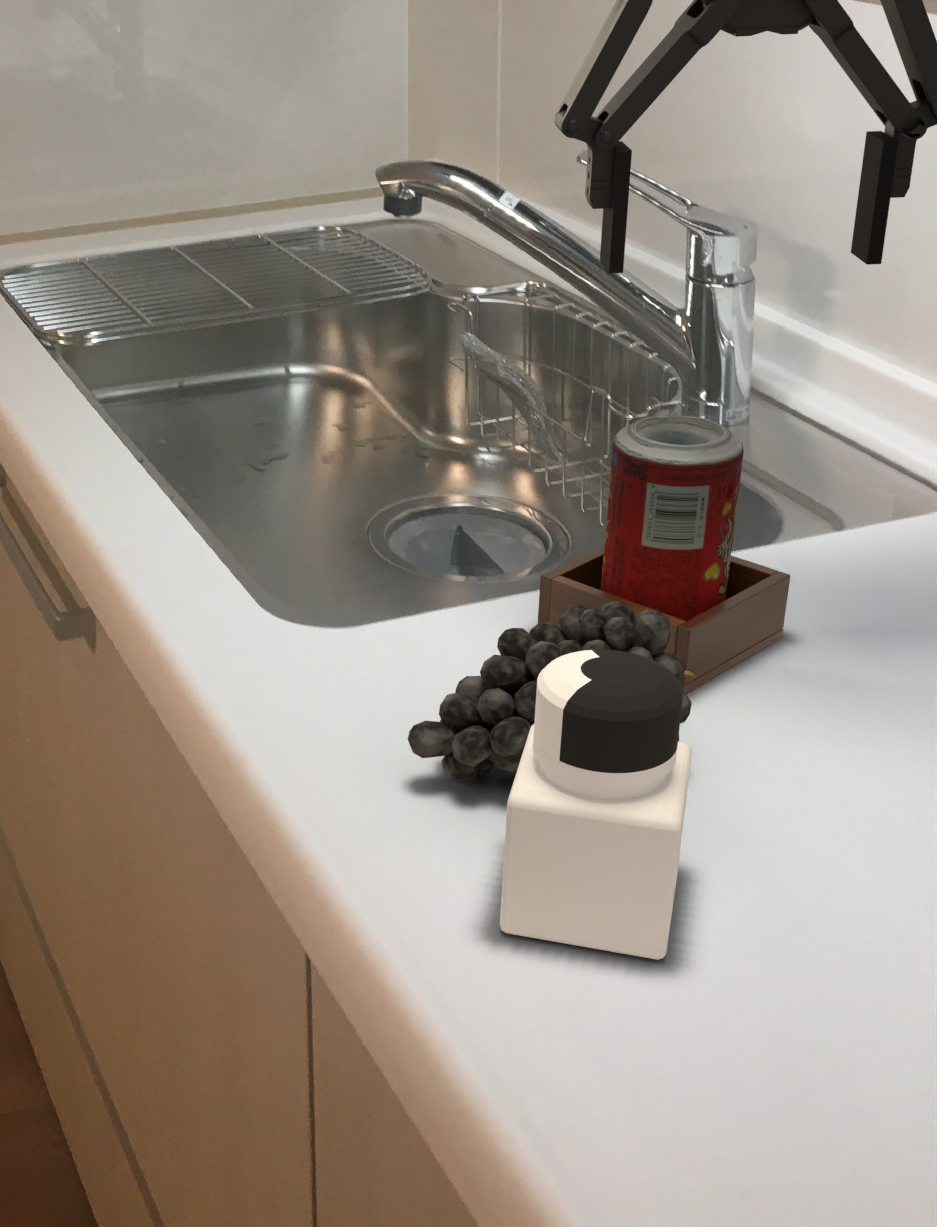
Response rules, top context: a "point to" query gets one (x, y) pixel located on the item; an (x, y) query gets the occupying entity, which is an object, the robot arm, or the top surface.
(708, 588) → the soda can
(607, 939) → the medicine bottle
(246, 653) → the top surface
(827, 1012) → the top surface
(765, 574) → the wooden box tray
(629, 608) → the fruit
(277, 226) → the top surface
